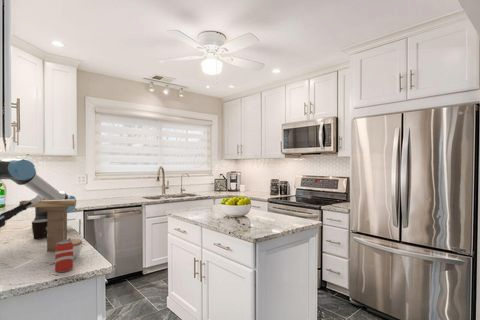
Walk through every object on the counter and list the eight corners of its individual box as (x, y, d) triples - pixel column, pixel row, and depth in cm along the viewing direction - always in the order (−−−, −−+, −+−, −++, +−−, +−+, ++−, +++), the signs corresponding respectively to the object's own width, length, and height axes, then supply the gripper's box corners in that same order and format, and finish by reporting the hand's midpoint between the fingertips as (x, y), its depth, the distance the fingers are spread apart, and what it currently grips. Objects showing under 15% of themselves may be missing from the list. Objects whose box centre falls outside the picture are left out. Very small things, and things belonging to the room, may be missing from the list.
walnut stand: (44, 247, 149) (45, 205, 149) (68, 246, 152) (68, 204, 152) (38, 253, 140) (38, 207, 140) (63, 251, 144) (64, 207, 144)
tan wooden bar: (22, 206, 144) (23, 200, 144) (76, 204, 151) (76, 199, 151) (19, 207, 140) (19, 201, 140) (74, 206, 147) (74, 200, 147)
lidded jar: (82, 259, 131) (82, 239, 131) (54, 263, 126) (54, 242, 126) (81, 253, 141) (82, 234, 141) (56, 256, 135) (56, 237, 135)
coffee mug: (39, 240, 163) (40, 222, 163) (27, 239, 165) (27, 222, 165) (56, 234, 174) (57, 218, 174) (45, 234, 176) (45, 218, 176)
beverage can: (69, 266, 123) (69, 239, 123) (74, 270, 119) (75, 241, 119) (53, 270, 119) (53, 241, 119) (58, 274, 114) (58, 244, 114)
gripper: (4, 225, 147) (50, 202, 153) (-14, 234, 131) (38, 207, 137) (-4, 213, 146) (42, 190, 152) (-24, 220, 129) (29, 194, 136)
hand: (40, 198), depth 144 cm, fingers closed on tan wooden bar, 4 cm apart
